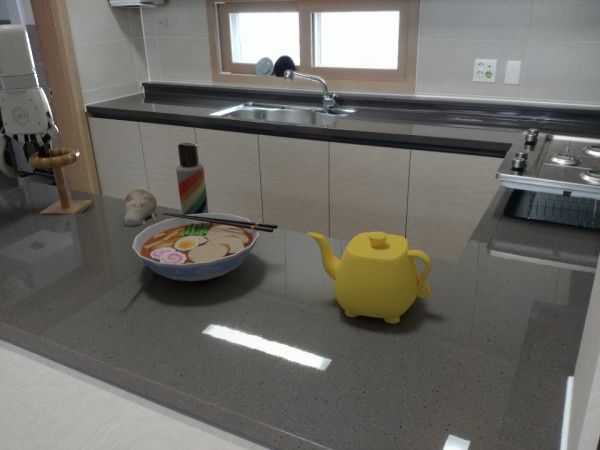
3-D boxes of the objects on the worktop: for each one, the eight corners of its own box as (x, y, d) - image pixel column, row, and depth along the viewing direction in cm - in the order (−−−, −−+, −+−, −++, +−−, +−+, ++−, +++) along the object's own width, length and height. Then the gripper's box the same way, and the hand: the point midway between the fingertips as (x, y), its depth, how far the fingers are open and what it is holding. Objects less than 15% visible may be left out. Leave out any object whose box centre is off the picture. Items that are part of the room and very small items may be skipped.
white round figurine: (116, 234, 119) (109, 190, 120) (139, 235, 128) (132, 195, 129) (146, 226, 117) (138, 182, 118) (167, 228, 127) (160, 188, 128)
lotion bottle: (179, 232, 118) (167, 143, 110) (200, 225, 121) (190, 138, 114) (194, 239, 114) (182, 148, 106) (215, 231, 118) (206, 142, 110)
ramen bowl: (106, 287, 96) (98, 246, 93) (183, 238, 115) (178, 202, 112) (225, 316, 86) (220, 271, 83) (287, 256, 105) (285, 218, 102)
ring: (20, 169, 124) (17, 159, 123) (46, 156, 134) (44, 146, 133) (65, 169, 122) (63, 159, 121) (89, 156, 133) (87, 146, 132)
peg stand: (39, 217, 129) (26, 164, 124) (59, 204, 138) (47, 154, 132) (74, 217, 128) (63, 164, 123) (92, 204, 137) (82, 154, 131)
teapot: (424, 338, 79) (429, 260, 74) (296, 317, 85) (292, 244, 80) (435, 292, 90) (440, 222, 86) (322, 276, 97) (320, 211, 92)
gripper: (-24, 86, 119) (-3, 166, 126) (44, 84, 117) (62, 165, 124) (-3, 81, 126) (16, 157, 133) (62, 79, 124) (78, 156, 131)
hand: (38, 160), depth 128 cm, fingers closed on ring, 2 cm apart
